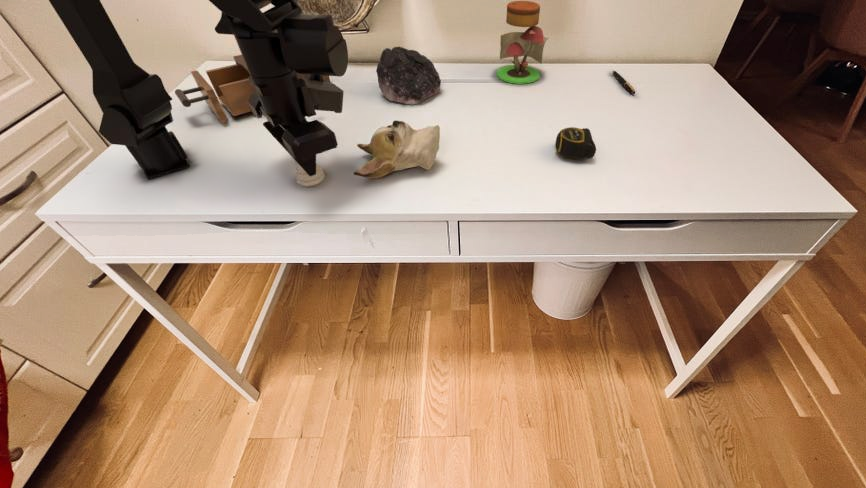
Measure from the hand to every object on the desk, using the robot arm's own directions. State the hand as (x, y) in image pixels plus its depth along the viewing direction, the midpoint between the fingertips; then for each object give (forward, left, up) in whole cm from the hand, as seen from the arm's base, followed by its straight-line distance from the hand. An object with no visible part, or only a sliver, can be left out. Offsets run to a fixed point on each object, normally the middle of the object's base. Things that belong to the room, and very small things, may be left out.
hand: (308, 170), depth 64 cm
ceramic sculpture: (+14, -6, -2) cm, 15 cm away
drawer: (-2, +34, -1) cm, 34 cm away
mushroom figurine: (+59, +11, -2) cm, 60 cm away
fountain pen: (+75, -8, -2) cm, 75 cm away
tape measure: (+42, -22, -2) cm, 47 cm away
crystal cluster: (+32, +19, -2) cm, 37 cm away
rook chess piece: (0, 0, -2) cm, 2 cm away
